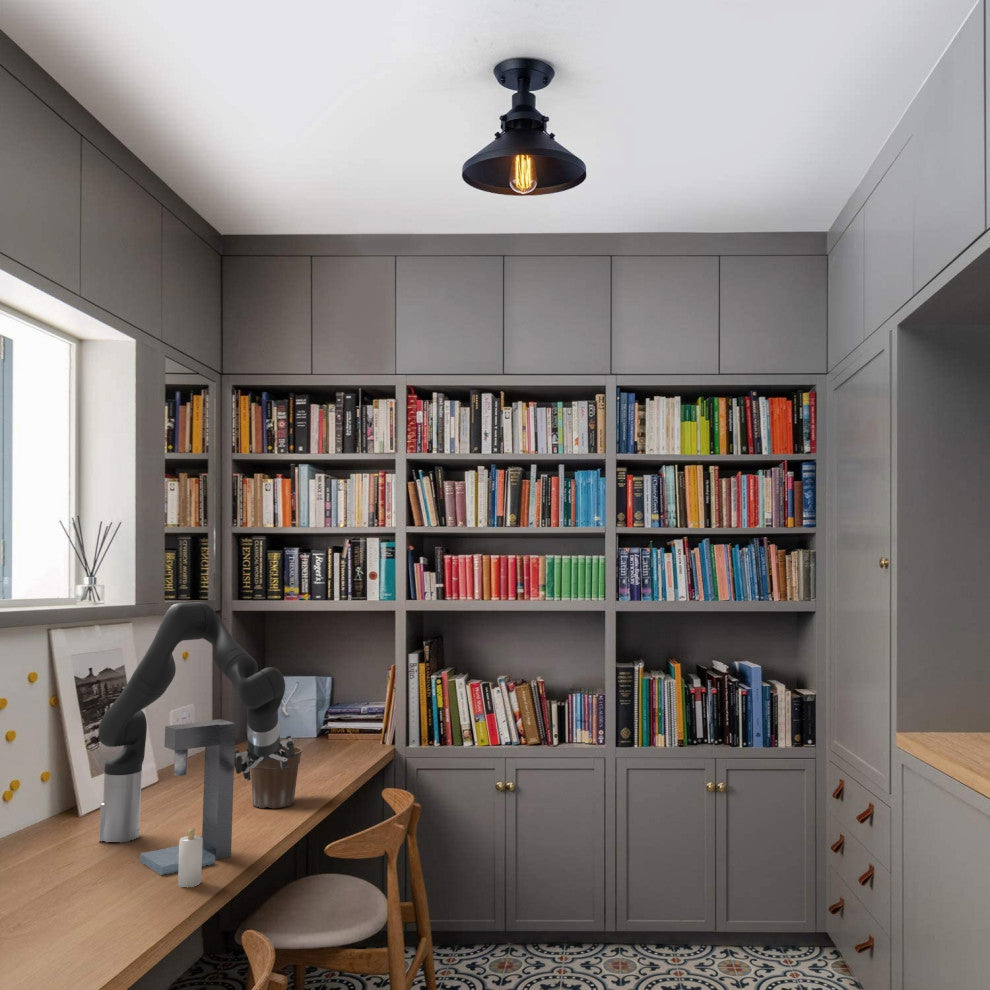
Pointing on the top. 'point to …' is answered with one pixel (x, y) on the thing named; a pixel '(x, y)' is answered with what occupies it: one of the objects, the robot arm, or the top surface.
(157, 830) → the top surface
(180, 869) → the white cylinder
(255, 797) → the plant pot
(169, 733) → the press
